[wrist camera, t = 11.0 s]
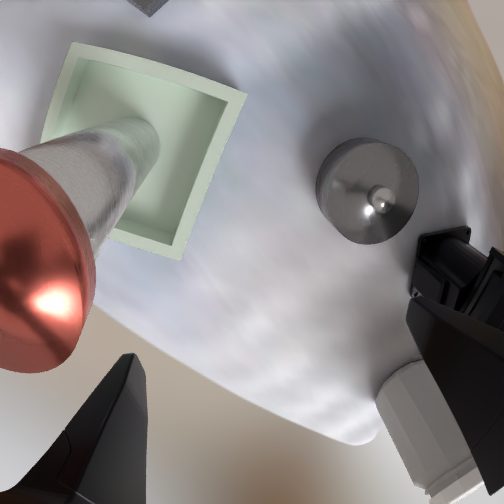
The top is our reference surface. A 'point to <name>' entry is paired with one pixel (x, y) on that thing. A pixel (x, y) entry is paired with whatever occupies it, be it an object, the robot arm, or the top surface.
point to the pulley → (367, 190)
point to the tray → (165, 123)
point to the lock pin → (62, 233)
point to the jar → (427, 435)
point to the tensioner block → (148, 5)
